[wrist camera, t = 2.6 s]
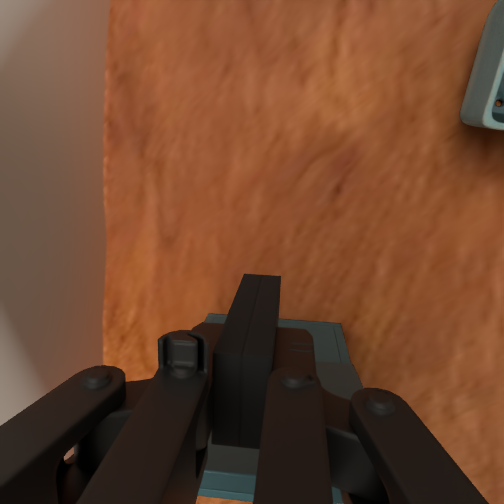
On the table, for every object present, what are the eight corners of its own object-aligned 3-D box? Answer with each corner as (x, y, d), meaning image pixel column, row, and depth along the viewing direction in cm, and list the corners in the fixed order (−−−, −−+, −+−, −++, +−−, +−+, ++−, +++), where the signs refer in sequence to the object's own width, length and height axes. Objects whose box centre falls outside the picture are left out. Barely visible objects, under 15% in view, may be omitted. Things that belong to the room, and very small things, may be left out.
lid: (409, 512, 16) (411, 492, 16) (98, 476, 17) (98, 458, 17) (352, 374, 30) (353, 364, 30) (186, 360, 31) (186, 349, 31)
